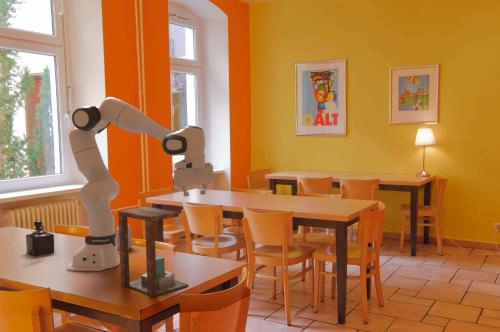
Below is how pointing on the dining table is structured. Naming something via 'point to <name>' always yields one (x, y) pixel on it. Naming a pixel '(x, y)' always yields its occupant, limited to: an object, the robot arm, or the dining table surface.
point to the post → (160, 266)
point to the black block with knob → (39, 241)
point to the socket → (158, 284)
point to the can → (128, 238)
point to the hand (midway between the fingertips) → (194, 195)
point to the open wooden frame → (150, 217)
